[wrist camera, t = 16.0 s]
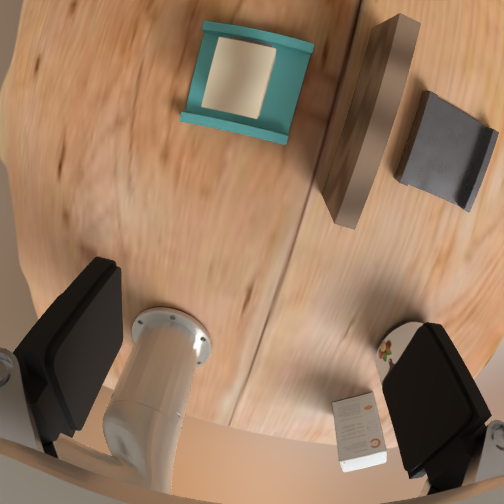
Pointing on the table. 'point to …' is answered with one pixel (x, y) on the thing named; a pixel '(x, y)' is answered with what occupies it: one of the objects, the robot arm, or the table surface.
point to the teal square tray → (278, 92)
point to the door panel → (370, 118)
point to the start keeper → (446, 152)
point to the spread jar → (394, 346)
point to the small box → (359, 433)
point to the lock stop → (239, 76)
